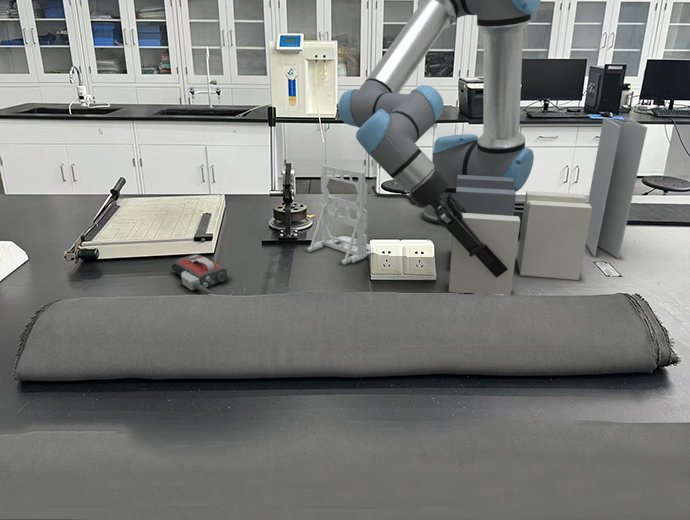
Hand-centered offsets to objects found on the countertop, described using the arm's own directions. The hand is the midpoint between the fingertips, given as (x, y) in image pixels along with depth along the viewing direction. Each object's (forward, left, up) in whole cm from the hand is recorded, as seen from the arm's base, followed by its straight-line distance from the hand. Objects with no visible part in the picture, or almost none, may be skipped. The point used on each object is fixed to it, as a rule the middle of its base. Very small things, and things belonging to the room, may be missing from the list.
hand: (501, 267), depth 105 cm
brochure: (-2, +41, -6) cm, 42 cm away
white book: (-3, -2, -6) cm, 7 cm away
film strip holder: (-37, -11, -6) cm, 39 cm away
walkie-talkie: (-39, -46, -6) cm, 61 cm away
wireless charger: (-22, +36, -6) cm, 43 cm away
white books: (-2, +18, -6) cm, 19 cm away
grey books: (-13, +9, -6) cm, 17 cm away
